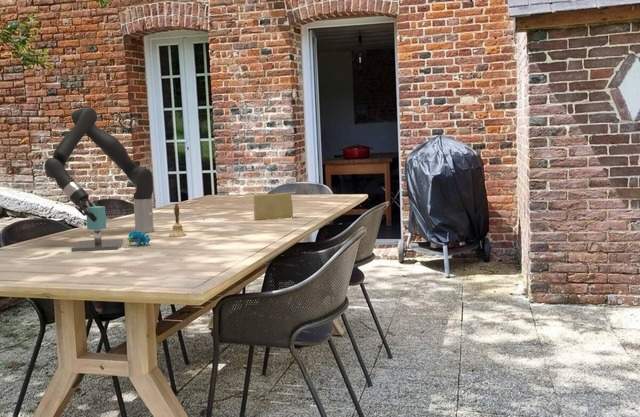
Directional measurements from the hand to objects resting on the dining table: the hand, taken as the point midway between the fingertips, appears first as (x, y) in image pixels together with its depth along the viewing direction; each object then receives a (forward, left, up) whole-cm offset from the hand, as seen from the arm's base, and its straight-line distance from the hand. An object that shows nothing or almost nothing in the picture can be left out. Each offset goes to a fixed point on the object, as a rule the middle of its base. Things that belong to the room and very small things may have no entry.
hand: (99, 219), depth 322 cm
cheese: (-86, -71, -13) cm, 112 cm away
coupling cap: (+2, -1, -4) cm, 5 cm away
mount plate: (+1, -1, -13) cm, 13 cm away
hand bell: (-34, -24, -13) cm, 43 cm away
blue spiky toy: (-17, 0, -13) cm, 21 cm away
